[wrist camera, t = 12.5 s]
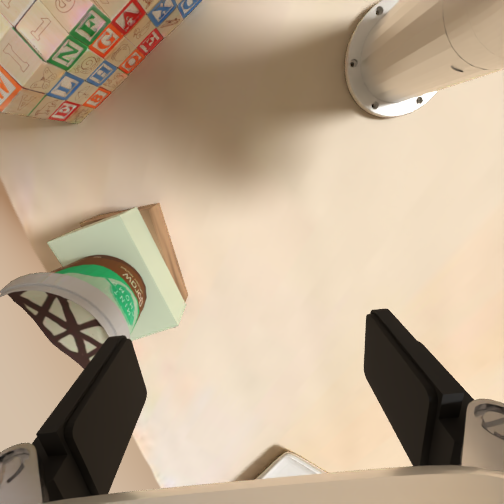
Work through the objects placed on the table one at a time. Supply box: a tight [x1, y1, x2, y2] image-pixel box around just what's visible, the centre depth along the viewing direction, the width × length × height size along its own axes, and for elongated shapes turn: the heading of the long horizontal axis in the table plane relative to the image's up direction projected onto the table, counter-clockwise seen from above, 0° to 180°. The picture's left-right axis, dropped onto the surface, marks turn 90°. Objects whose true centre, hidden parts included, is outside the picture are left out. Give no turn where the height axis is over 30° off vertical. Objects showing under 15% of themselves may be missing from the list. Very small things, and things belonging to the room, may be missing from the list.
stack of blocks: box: [0, 0, 202, 124], centre depth 27 cm, size 21×6×12 cm, turn 128°
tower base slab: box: [80, 203, 188, 302], centre depth 40 cm, size 9×15×5 cm, turn 11°
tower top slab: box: [47, 207, 186, 341], centre depth 35 cm, size 9×15×5 cm, turn 19°
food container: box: [0, 255, 147, 369], centre depth 27 cm, size 12×6×10 cm, turn 31°
